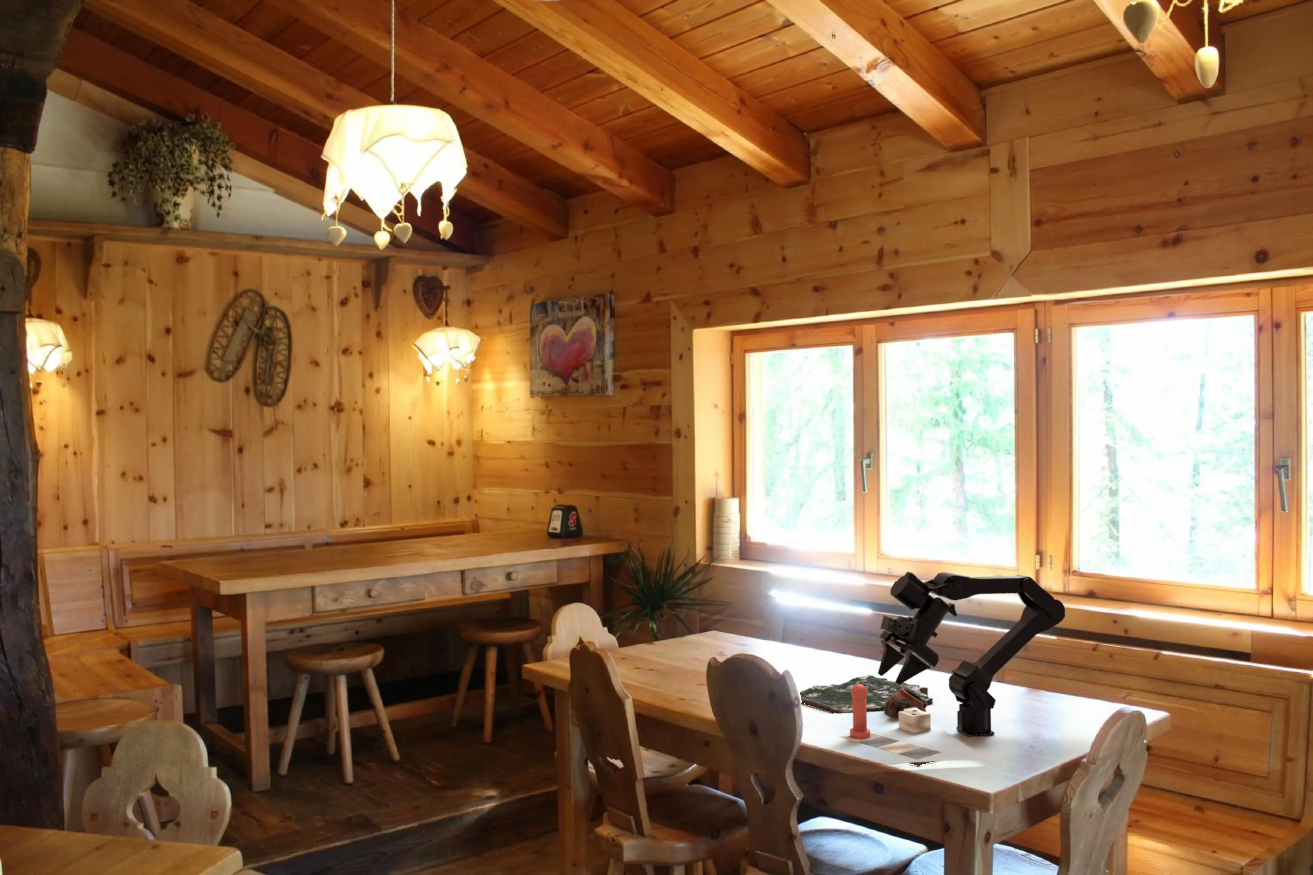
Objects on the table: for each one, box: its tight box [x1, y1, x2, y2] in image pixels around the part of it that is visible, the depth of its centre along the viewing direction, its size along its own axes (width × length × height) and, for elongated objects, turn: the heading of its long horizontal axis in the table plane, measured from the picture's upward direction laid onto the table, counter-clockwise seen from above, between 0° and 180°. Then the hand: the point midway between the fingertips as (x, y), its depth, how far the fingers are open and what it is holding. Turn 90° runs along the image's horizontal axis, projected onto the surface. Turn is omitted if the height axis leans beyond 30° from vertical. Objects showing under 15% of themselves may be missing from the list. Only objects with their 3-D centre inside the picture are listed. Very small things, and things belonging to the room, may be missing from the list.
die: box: [898, 708, 932, 734], centre depth 236 cm, size 5×5×5 cm
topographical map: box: [799, 674, 934, 715], centre depth 269 cm, size 26×33×3 cm
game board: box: [840, 732, 942, 767], centre depth 224 cm, size 23×9×1 cm, turn 37°
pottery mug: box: [883, 688, 929, 719], centre depth 248 cm, size 12×10×8 cm
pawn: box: [849, 684, 871, 740], centre depth 230 cm, size 4×4×12 cm
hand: (888, 679), depth 232 cm, fingers open, 9 cm apart
